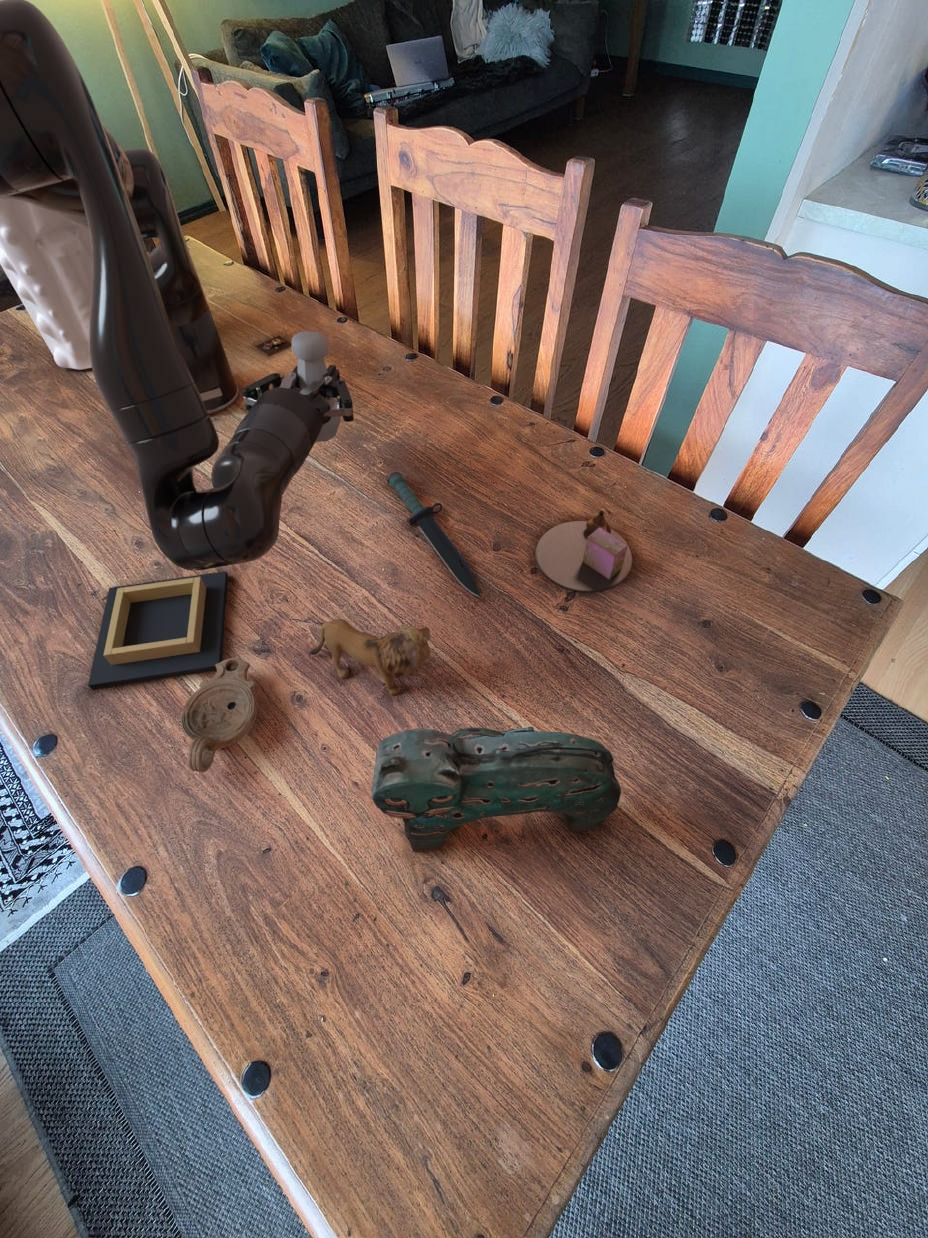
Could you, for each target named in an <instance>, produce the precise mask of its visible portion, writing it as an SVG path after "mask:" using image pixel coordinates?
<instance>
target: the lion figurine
mask: <svg viewBox="0 0 928 1238" xmlns="http://www.w3.org/2000/svg"><path fill="white" fill-rule="evenodd" d="M431 638H432V633H431V630H430V628H429V626H423V627H422V628H419V627H418V626H415V625H408V623H405V624H404V623H401V624H400V629H397V630H396V631H395V632H392V633H391V632H389V633H386V634H385V635H383V636H381V637H379V636H376V635H374V634H371V633H368V632H363V631H360V630H358V629H356V628H354V627H353V626H352V624H350V623H349V622H348V621H346V620H344V619H342V618H341V619H340V618H334V619H332V620H331V621H326V622H324V623H323V624H322V625H321V628H320V637H319V643H318V645H316V647H314V648H312V649H311V650H310V651H308V655H313V656H314V655H315V656H316V655H317V654H319V653H320V651H322V648H323V647H324V644H325V645H326V647H327V649H328V650H329V652H330V654H331V656H332V658H331V660H332V663H333V665H334V668H335V670H336V672H337V676H338V677H339V678H341V679H347V678H348V677H349V675H350V671H349V669H348V668H346V667H345V666H344V665H343V664H342V663H341V657H342V655H343V652H345V653H347V655H349V656H350V657H351V658H352V659H354V660H355V661H356V662H357V663H359V664H361V665H364V666H366V667H369V668H374V669H377V671H378V673H379V674H380V676H381V677H382V680H383V682H384V684H385V687H386V689H387V692H388V693H389V694H390V695H391V696H395V695H397V694H399V693H400V689H401V688H400V686H399V685H398V684H397V682H396V681H395V678H396V679H399V678H400V677H401V676H403V677H407V676H408V675H412V673H413V671H414V670H416V669H419V668H420V667H421V666H423V664H425V663H426V662H427V661H428V660H429V658H430V656H431V654H432V651H431V649H430V645H429V643H428V642H429V640H430V639H431Z"/></svg>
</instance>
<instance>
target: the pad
mask: <svg viewBox="0 0 928 1238" xmlns="http://www.w3.org/2000/svg"><path fill="white" fill-rule="evenodd" d="M229 577H230V576H229V574H228V573H227V571H226V570H225V571H217V572H211V573H210V572H209V573H203V574H197V575H190V576H184V577H183V576H182V577H176V578H175V577H174V578H168V579H162V580H161V579H160V580H154V581H148V582H139V583H132V584H125V585H119V586H112V587H109V588H108V592H107V597H106V600H105V601H106V602H105V605H104V610H103V615H102V620H101V624H100V629H99V633H98V637H97V638H98V639H97V642H96V647H95V651H94V656H93V659H92V660H93V661H92V666H91V670H90V674H89V678H88V683H87V686H88V687H89V688H90V689H91V690H93V691H94V690H100V689H105V688H106V689H107V688H114V687H121V686H127V685H131V684H138V683H139V684H140V683H145V682H152V681H160V680H166V679H172V678H179V677H184V676H192V675H199V674H204V673H211V672H217V669H216V666H215V664H218V663H220V662H222V661H223V657H224V645H225V644H224V643H225V630H226V617H227V605H228V604H227V602H228V591H229V590H228V589H229Z"/></svg>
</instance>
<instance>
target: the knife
mask: <svg viewBox="0 0 928 1238" xmlns="http://www.w3.org/2000/svg"><path fill="white" fill-rule="evenodd" d="M386 483H387V484H388V485H390V486H391V488H392V489H393V490H394V491H396V492H397V493H398V495H399V497H400V498H401V499H402V501H403V503H404V504H405V506H406V507H407V508H408V510H409V511H410V512H411V513H412V515H411V516H410V517H409V518H407V521H408V525H410V526H415V525H417V526H418V527H419V528H418V529H419V530H420V532H421V533H422V534H423V536H424V537H425V539H426V540H427V541H428V543H429V544H430V546H431V547H432V548H433V549H434V551H435V552H436V554H437V556H439V558H440V560H441V561H442V562H443V564H444V565H445V567H446V568H447V569H448V570H449V572H450V573H451V575H452V576H453V577H454V578H455V579H456V581H457V582H458V583H459V584H460V586H462V587H463V588H464V589H465V590H466V591H468V592H469V593H470V594H471V595H474V596H476V597H480V598H481V597H482V596H481V592H480V590H479V587H478V585H477V582H476V580H475V578H474V576H473V573H472V571H471V569H470V566H469V563H468V562H467V561H466V559H465V558H464V556H463V555H462V554H461V552H460V550H458V548H457V547H456V546H455V544H454V542H452V540H451V539H450V537H449V536H448V535H447V534H446V532H445V531H444V529H443V528H442V527H441V525H440V524H439V523H438V521H437V519H435V517H434V515H438V514H440V513H441V512H442V511H443V508H444V505H443V504H442V503H441V502H435V503H434V504H433V505H432V506H430V505H428V506H426V507H425V506H424V505H423V504H422V502H421V501H420V500H419V497H418V496H417V495H416V494H415V492H413V491H412V489H410V487H409V486H408V484H407V483H406V479H405V477H404V476H403V475H402V473H401V472H399V471H394V472H392V473H390V474H389V476H388V477H387V479H386ZM437 507H439V508H438V509H436V510H435V508H437ZM460 564H462V565H463V566H461V565H460Z"/></svg>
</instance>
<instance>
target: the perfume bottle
mask: <svg viewBox="0 0 928 1238" xmlns="http://www.w3.org/2000/svg"><path fill="white" fill-rule="evenodd" d="M534 556H535V557H534V558H535V561H536V565H537V567H538V568H539V571H540V572H541V574H542V575H543V576H544V577H545V578H547V579H548V581H550V582H551V583H552V584H555V585H556V586H558V587H560V588H562V589H565V590H568V591H571V592H576V593H584V594H585V593H586V594H591V593H593V594H594V593H600V592H604V591H608V590H610V589H613V588H614V587H616V586H618V585H620V584H621V583H622V582H623V581H624V580H625V579H626V578H627V577H628V575H629V574H630V573H631V572H630V571H631V569H632V566H633V555H632V551H631V549H630V547H629V544H628V543H627V542H626V540H625V539H624V538H623V537H622V536H621V535H620V534H619V533H618V532H616V531H615V530H613V529H611V526H609V524H608V522H607V521H606V519H605V512H604V511H603V510H600V511H599V512H598V514H597V515H595V516H593V517H591V518H589V519H588V520H587V521H585V520H575V521H574V520H573V521H568V522H567V521H566V522H563V523H560V524H557V525H555V526H553V527H552V528H550V529H548V530H547V531H546V532H545V533H544V534H543V535H541V537H540V538H539V540H538V542H537V544H536V546H535V552H534Z"/></svg>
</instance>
